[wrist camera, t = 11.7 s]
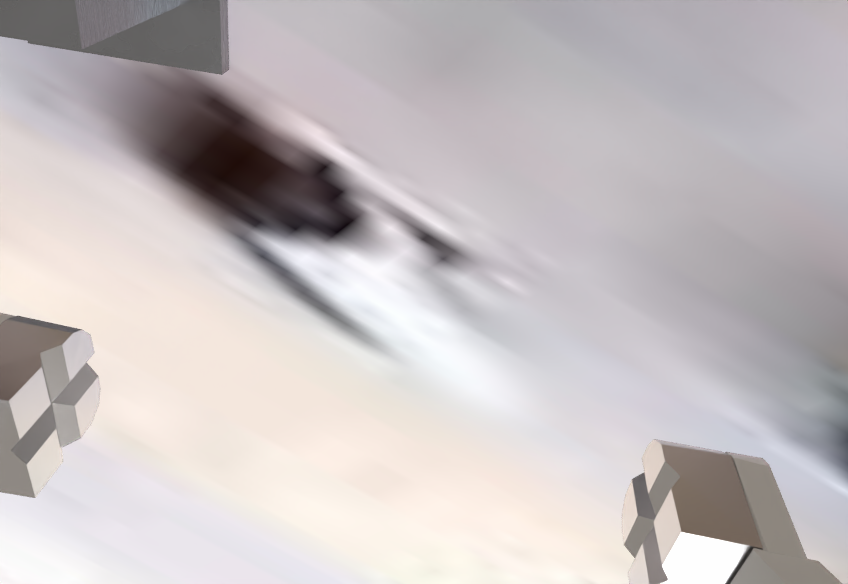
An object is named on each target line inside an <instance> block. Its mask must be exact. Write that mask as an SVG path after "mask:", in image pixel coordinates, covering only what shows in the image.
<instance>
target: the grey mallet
mask: <svg viewBox="0 0 848 584" xmlns="http://www.w3.org/2000/svg"><path fill="white" fill-rule="evenodd" d="M0 36H2V37H9V38H15V39H21V40H27V41H28V43H30V44H36V45H43V46H49V47H55V48H61V49H67V50H73V51H79V52H86V53H92V54H98V55H104V56H110V57H116V58H123V59H129V60H135V61H141V62H147V63H153V64H159V65H166V66H172V67H178V68H184V69H190V70H196V71H203V72H209V73H215V74H221V75H222V74H224V73H225V72H226V71H228V70H229V55H228V15H227V0H0Z"/></svg>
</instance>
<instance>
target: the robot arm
mask: <svg viewBox="0 0 848 584" xmlns="http://www.w3.org/2000/svg"><path fill="white" fill-rule="evenodd" d="M93 354H94V348H93V344H92V339H91V335H90V334H89V333H87V332H85V331H84V330H81V329H77V328H72V327H67V326H63V325H58V324H53V323H49V322H44V321H40V320H35V319H30V318H26V317H21V316H12V315H8V314H3V313H0V492H3V493H9V494H15V495H21V496H27V497H33V498H36V497H37V495H38V494H39V493H40V491H41V490H42V489H43V487H44V486H45V485H46V483H47V482H48V481H49V480H50V478H51V477H52V476H53V474H54V473H55V472H56V470H57V469H58V468H59V466H60V465H61V464H62V463H63V455H62V447H64V446H66V445H68V444H70V443H72V442H74V441H76V440H78V439H80V438H81V437H82V436H83V435H84V433H85V432H86V430H87V429H88V428H89V426H90V425H91V423H92V421H93V418H94V416H95V413H96V411H97V408H98V405H99V399H100V383H99V377H98V375H97V374H96V373H95V372H94V371H93V369H92V368H91V367H90V366H89V365H88V364H87V363H86V362H87V361H88V360H89V358H90V357H91V356H92V355H93ZM642 462H643V467H644V473H642V474H641V475H639V476H637V477H635V478H633V479H632V480H631V483H630V485H629V488H628V490H627V493H626V495H625V500H624V505H623V511H622V534H623V542H624V545H625V547H626V548H627V549H628V550H629V552H630V553H631V554H632V555H633V557H634V558H635V559H634V561H633V563H632V565H631V567H630V569H629V571H628V577H629V584H842V583H841V582H840V581H839V580H838V579H837V578H836V577H835V576H834V575H833V574H832V573H830V572H829V571H828V570H827V569H826V568H825V567H824V566H823V565H822V564H821V563H820V562H819V561H815V560H810V559H807V557H806V554H805V552H804V550H803V547H802V545H801V542H800V540H799V537H798V535H797V532H796V530H795V527H794V525H793V522H792V520H791V517H790V515H789V513H788V510H787V508H786V505H785V503H784V500H783V498H782V495H781V493H780V490H779V488H778V485H777V483H776V480H775V478H774V476H773V473H772V471H771V468H770V466H769V464H768V463H767V462H766V461H765V460H764V459H763V458H758V457H753V456H747V455H741V454H736V453H730V452H725V453H724V452H721V451H716V450H711V449H705V448H700V447H694V446H689V445H683V444H678V443H673V442H667V441H662V440H656V439H654V440H653V441H652V442H651V443H650V444H649V445H648V446H647V448H646V450H645V452H644V454H643V456H642Z"/></svg>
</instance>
